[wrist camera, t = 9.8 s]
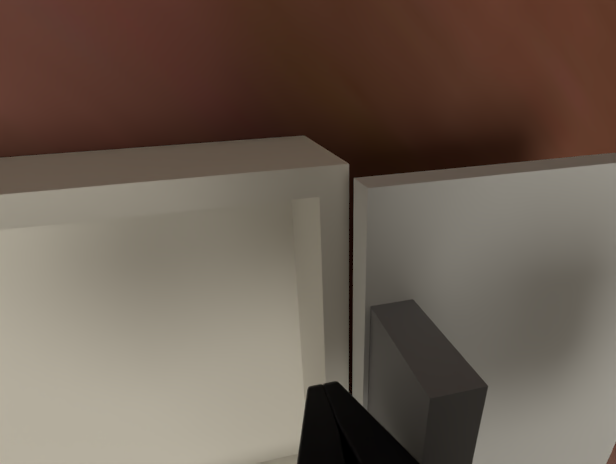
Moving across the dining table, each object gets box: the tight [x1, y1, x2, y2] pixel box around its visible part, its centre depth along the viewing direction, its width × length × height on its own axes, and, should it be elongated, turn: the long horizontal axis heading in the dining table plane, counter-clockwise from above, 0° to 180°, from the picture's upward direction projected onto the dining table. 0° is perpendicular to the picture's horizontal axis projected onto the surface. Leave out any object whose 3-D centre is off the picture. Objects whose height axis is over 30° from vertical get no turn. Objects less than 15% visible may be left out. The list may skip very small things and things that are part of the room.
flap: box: [352, 153, 616, 464], centre depth 11 cm, size 18×11×4 cm, turn 3°
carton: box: [0, 136, 349, 464], centre depth 13 cm, size 19×22×6 cm
